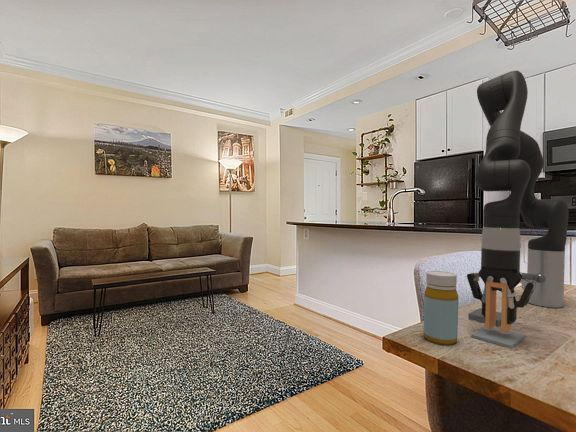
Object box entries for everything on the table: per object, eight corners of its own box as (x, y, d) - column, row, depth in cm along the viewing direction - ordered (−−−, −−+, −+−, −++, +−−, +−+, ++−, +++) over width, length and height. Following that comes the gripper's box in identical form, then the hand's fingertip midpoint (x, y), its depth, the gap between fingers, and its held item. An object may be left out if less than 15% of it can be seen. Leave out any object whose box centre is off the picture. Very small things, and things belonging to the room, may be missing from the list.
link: (485, 328, 75) (486, 281, 75) (491, 324, 78) (492, 279, 78) (505, 333, 72) (506, 284, 72) (511, 329, 75) (512, 282, 75)
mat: (486, 327, 82) (487, 324, 82) (525, 337, 76) (525, 334, 76) (471, 337, 75) (471, 334, 75) (511, 348, 69) (511, 345, 69)
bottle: (454, 335, 76) (456, 271, 76) (459, 347, 69) (461, 277, 69) (422, 331, 78) (423, 269, 78) (424, 343, 72) (425, 275, 71)
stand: (479, 313, 93) (480, 263, 93) (548, 328, 81) (550, 272, 81) (468, 319, 88) (469, 266, 88) (540, 336, 76) (541, 276, 76)
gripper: (461, 245, 78) (459, 316, 78) (533, 251, 67) (531, 334, 68) (473, 243, 83) (471, 310, 83) (542, 249, 72) (540, 325, 72)
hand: (498, 320), depth 75 cm, fingers closed on link, 4 cm apart
